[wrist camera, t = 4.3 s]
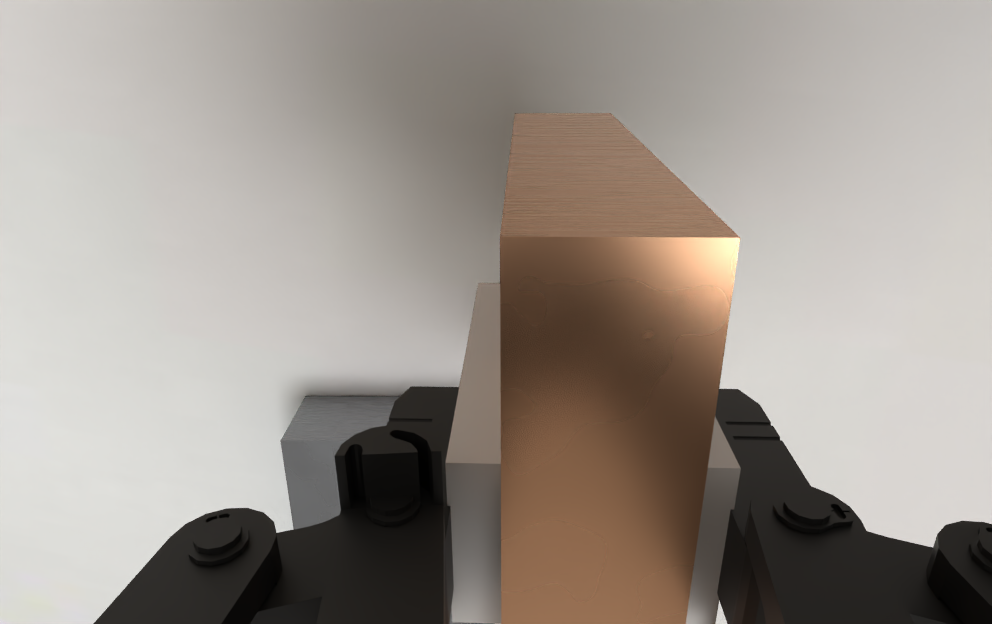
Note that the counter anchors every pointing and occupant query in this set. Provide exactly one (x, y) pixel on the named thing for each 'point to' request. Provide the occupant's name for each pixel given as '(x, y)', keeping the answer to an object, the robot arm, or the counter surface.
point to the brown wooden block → (604, 373)
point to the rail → (326, 452)
